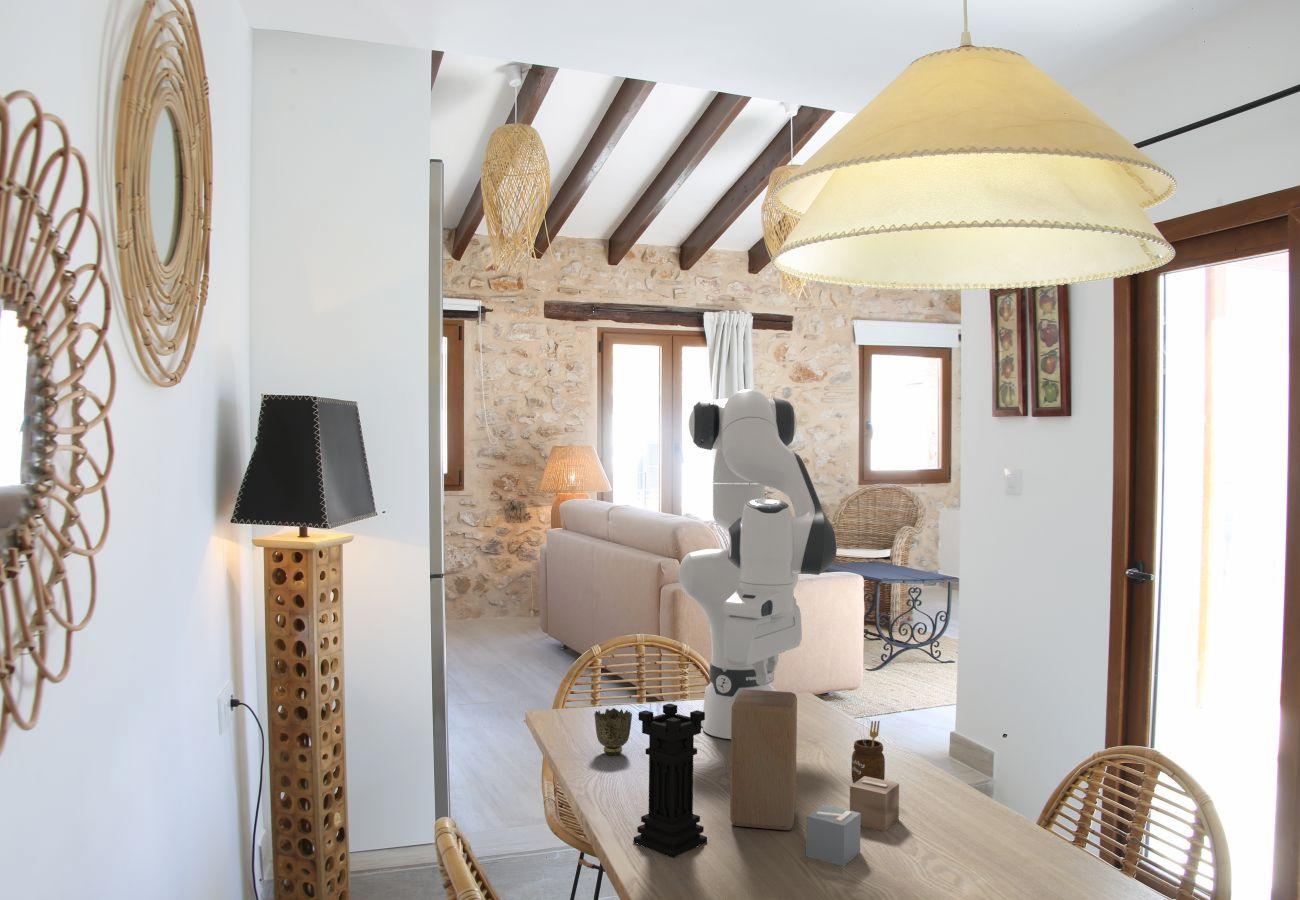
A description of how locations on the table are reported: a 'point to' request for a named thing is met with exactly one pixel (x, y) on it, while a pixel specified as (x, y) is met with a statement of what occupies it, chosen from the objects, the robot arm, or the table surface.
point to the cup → (613, 729)
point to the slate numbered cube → (833, 834)
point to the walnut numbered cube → (875, 802)
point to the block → (763, 759)
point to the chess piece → (671, 782)
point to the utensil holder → (868, 756)
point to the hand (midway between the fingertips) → (765, 683)
